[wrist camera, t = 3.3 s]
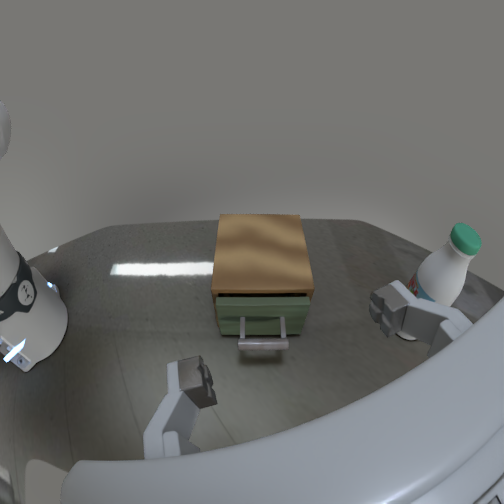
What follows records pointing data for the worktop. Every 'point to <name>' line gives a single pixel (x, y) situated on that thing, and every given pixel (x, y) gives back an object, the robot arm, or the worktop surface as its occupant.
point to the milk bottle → (445, 269)
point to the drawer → (262, 317)
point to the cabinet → (261, 256)
